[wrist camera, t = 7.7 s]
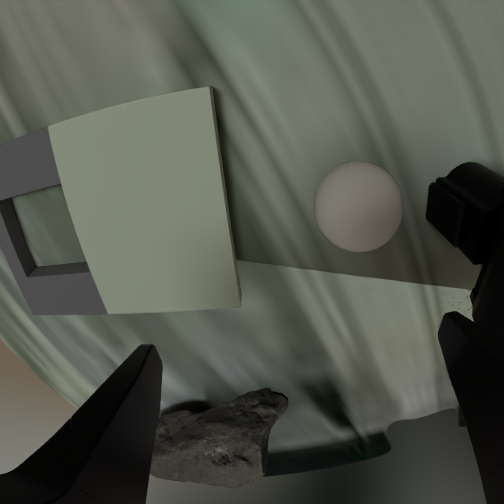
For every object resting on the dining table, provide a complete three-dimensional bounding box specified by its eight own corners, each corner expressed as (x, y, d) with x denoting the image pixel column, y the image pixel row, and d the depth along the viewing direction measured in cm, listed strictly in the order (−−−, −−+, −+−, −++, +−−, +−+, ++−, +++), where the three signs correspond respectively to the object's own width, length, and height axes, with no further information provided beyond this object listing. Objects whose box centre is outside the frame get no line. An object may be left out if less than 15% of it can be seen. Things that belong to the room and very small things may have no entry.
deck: (212, 86, 16) (209, 86, 15) (241, 293, 23) (240, 307, 22) (-16, 152, 17) (-28, 158, 16) (40, 303, 24) (33, 314, 22)
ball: (408, 157, 16) (402, 183, 13) (402, 234, 19) (391, 277, 15) (328, 149, 19) (298, 171, 15) (329, 222, 21) (301, 260, 18)
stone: (221, 385, 23) (275, 498, 18) (280, 368, 30) (323, 456, 26) (117, 430, 30) (150, 507, 26) (172, 417, 37) (202, 483, 33)
